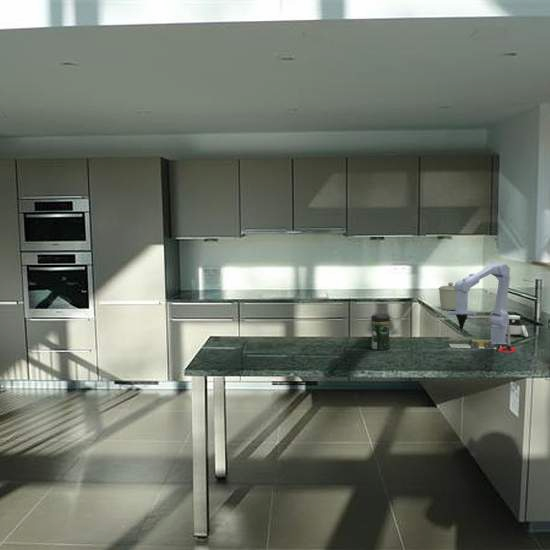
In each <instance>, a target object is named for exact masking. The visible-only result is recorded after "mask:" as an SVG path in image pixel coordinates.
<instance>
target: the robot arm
mask: <svg viewBox="0 0 550 550" xmlns="http://www.w3.org/2000/svg"><path fill="white" fill-rule="evenodd" d="M510 270H511V267H510V266H509V265H508V264H507V263H498V262H491V263H489V264H487V265H486V267H484V268H483V269H482V270H480V271H478V272H477V273H469V275H468V276H467V277H464V278H462V279H461V280H457V281H456V282H455V283H454V285H453V286H454V289H455V290H456V310H454V311H449V310H446V311H447V313H446V315H447V316H455V317H456V319H457V322H458V325H459V329H460V330H463V329H464V326H465V324H466V320H467V319H468V316H474V317H475V316H477V311H473V310H469V311H468V300H469V299H468V295H469V293H468V292H470V290H471V288H473V287H475V286H476V285H478V284H479V283H480V280H482V279H484V278H486V277H488V276H489V275H492V276H494V278H496V279H497V281H498V283H497V291H496V295H495V296H496V298H495V302H494V303H495V305H494V309H492V310H491V311H490V314H489V317H488V323H489V325H490V327H491V328H490V339H488V340H489V341H492V343H495V344H496V345H507V341H506V336H507V335H506V328H507V326H508V324H509V315H510V314H509V313H508V312H507V310H506V308H507V301H508V294H509V287H510V281H511V276H510V272H511V271H510Z"/></svg>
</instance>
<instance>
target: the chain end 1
mask: <svg viewBox="0 0 550 550" xmlns="http://www.w3.org/2000/svg"><path fill="white" fill-rule="evenodd" d="M468 344H469V345H471V348H470V349H480V348H479V343H472V340H468Z"/></svg>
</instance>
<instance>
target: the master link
mask: <svg viewBox="0 0 550 550" xmlns="http://www.w3.org/2000/svg"><path fill="white" fill-rule="evenodd" d="M489 340H490V339H486V338H485V339H477V338H475V339H471V341H472V343H479V347H484V345H485V343H489Z"/></svg>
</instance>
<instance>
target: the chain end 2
mask: <svg viewBox="0 0 550 550" xmlns="http://www.w3.org/2000/svg"><path fill="white" fill-rule="evenodd" d="M487 348H497V344H495V343H492V341H489V343H485V345H484V348H483V349H487Z"/></svg>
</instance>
